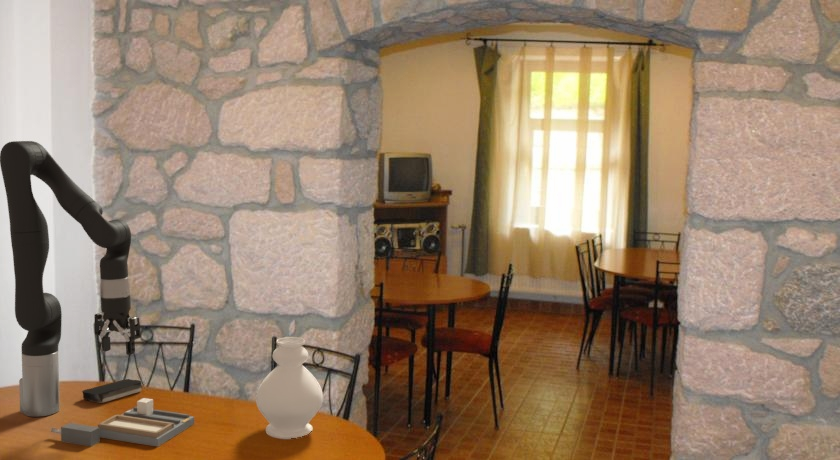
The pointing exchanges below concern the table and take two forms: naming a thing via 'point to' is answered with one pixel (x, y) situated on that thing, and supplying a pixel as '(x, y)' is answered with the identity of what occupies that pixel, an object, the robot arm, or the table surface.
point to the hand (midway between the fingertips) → (118, 352)
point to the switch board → (145, 426)
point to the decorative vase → (289, 392)
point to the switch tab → (145, 406)
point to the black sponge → (112, 390)
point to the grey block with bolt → (79, 434)
